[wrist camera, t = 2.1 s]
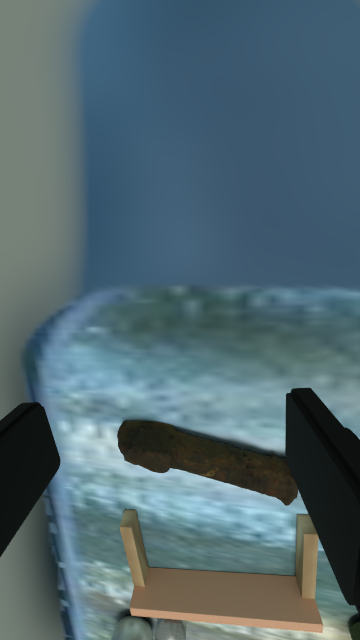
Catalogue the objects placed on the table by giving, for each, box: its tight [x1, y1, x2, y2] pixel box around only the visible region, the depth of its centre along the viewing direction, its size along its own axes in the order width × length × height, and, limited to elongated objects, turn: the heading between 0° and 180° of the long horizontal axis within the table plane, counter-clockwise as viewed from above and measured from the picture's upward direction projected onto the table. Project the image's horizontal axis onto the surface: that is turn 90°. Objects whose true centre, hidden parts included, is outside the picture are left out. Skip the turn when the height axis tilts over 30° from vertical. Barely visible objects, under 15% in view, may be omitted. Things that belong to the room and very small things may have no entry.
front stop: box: [130, 567, 323, 633], centre depth 29 cm, size 23×2×4 cm, turn 97°
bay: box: [120, 510, 318, 599], centre depth 29 cm, size 23×11×2 cm, turn 97°
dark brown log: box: [117, 421, 298, 506], centre depth 24 cm, size 19×4×5 cm, turn 74°
